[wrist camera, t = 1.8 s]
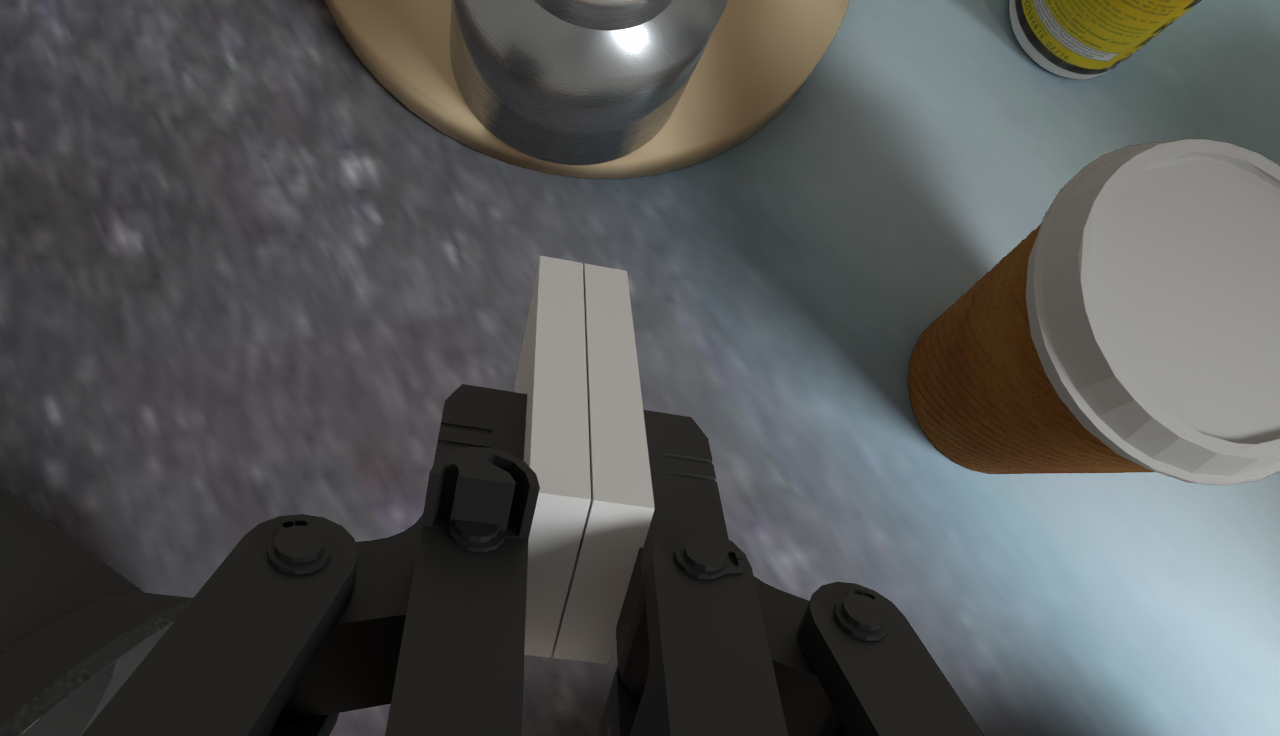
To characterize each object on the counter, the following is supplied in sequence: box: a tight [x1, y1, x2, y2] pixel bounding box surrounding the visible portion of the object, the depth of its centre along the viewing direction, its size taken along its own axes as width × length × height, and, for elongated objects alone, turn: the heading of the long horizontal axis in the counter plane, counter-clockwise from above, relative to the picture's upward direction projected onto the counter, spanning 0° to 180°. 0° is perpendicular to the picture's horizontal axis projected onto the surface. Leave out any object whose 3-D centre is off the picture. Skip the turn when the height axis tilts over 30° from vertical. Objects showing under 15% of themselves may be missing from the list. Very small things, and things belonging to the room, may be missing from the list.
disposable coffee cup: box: [908, 139, 1280, 485], centre depth 32 cm, size 10×10×12 cm
